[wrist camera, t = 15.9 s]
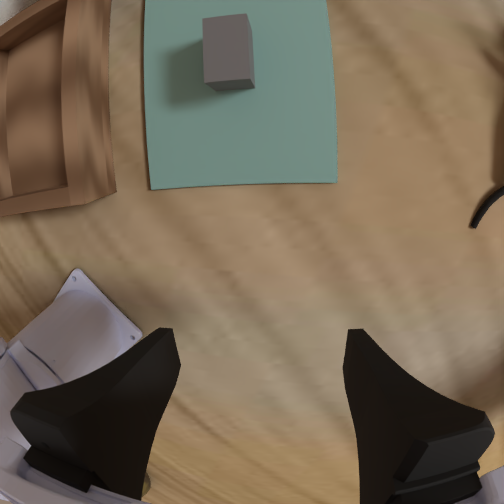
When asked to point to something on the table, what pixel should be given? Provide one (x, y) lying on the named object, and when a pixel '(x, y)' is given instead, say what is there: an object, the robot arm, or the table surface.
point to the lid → (239, 92)
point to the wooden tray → (55, 106)
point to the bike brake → (486, 206)
